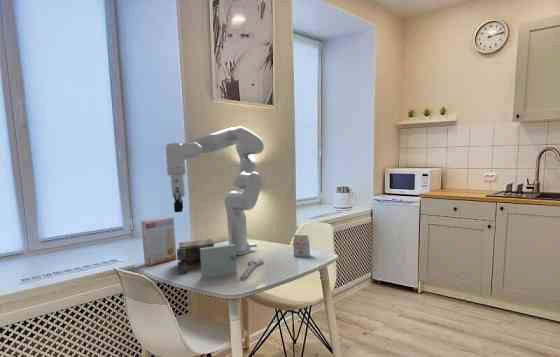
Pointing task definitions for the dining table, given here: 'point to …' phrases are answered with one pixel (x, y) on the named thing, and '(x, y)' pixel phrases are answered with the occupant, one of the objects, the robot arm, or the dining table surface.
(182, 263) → the cabinet
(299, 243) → the small printed carton
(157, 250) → the cracker box
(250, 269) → the adjustable wrench
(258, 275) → the dining table surface
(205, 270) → the grey flat block
